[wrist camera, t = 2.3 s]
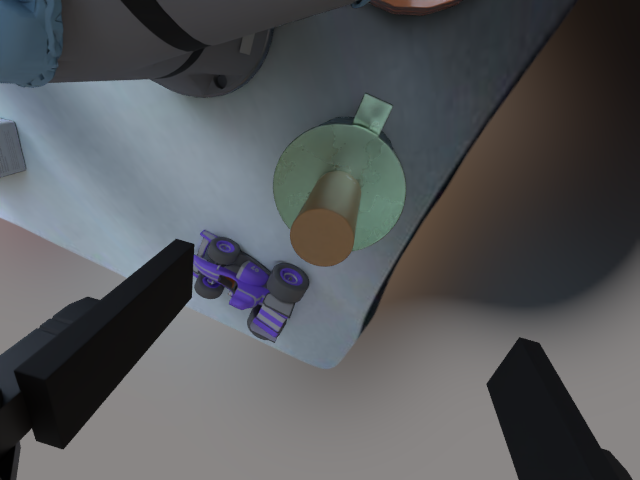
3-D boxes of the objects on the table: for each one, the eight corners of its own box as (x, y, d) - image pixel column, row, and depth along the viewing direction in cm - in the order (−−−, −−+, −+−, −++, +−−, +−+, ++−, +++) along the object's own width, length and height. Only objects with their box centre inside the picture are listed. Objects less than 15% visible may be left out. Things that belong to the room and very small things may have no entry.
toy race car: (207, 220, 42) (180, 243, 36) (313, 274, 43) (302, 305, 37) (188, 274, 46) (161, 303, 40) (284, 322, 47) (271, 356, 42)
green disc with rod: (261, 217, 31) (217, 272, 23) (301, 98, 26) (262, 111, 17) (369, 264, 32) (365, 335, 23) (430, 156, 26) (454, 196, 18)
